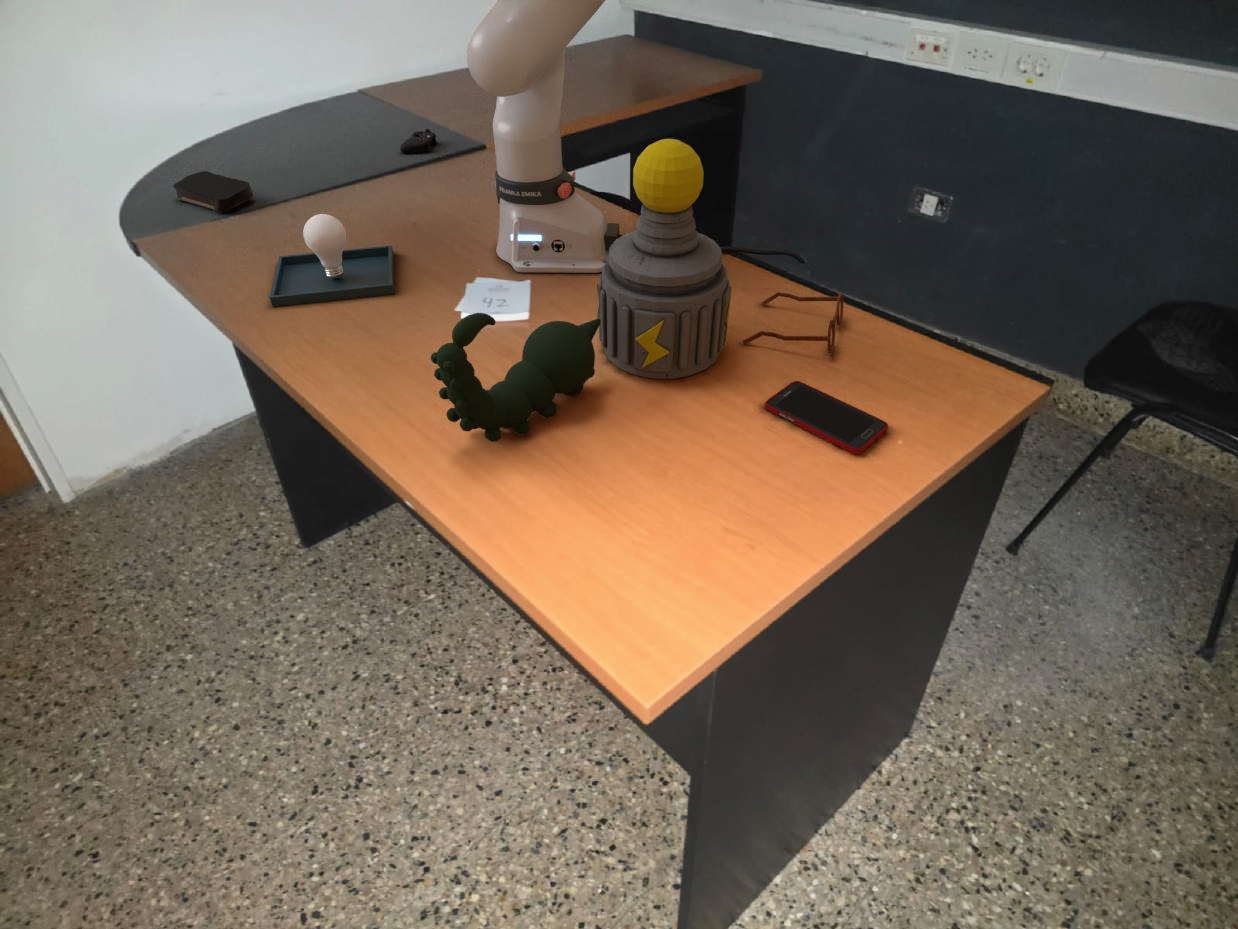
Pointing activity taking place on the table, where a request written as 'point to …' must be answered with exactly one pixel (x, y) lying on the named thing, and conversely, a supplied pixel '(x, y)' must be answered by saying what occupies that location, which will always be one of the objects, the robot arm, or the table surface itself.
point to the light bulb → (326, 242)
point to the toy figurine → (515, 375)
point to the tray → (309, 282)
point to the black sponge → (213, 191)
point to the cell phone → (827, 417)
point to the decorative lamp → (664, 275)
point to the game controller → (419, 142)
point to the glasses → (806, 338)
